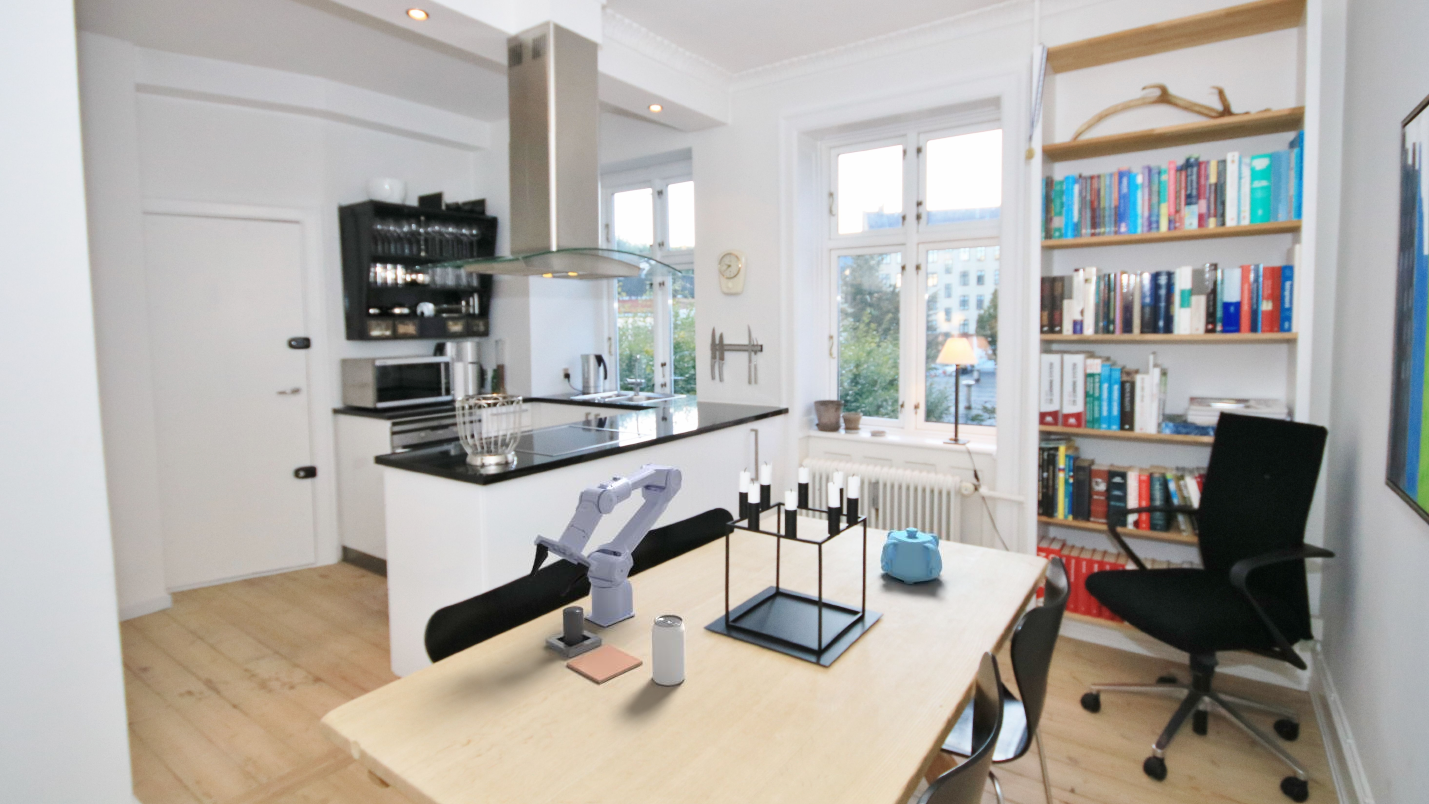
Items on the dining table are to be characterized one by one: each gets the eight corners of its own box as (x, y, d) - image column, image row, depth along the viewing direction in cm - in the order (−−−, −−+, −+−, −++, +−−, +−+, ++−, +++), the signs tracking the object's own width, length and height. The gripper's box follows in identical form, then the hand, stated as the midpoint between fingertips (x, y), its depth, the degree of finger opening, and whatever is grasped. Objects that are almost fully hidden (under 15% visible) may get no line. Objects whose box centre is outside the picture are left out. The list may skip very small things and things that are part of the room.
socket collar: (578, 632, 161) (578, 626, 161) (601, 644, 156) (601, 637, 155) (546, 645, 155) (545, 638, 155) (569, 658, 149) (569, 651, 149)
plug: (576, 638, 158) (575, 604, 158) (588, 644, 155) (587, 609, 155) (559, 645, 155) (558, 610, 154) (571, 651, 152) (570, 615, 151)
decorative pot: (873, 581, 193) (874, 532, 191) (887, 563, 207) (888, 517, 205) (935, 591, 185) (937, 540, 184) (945, 571, 200) (947, 524, 198)
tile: (609, 647, 154) (608, 644, 154) (642, 663, 147) (642, 660, 147) (566, 665, 146) (566, 662, 146) (600, 683, 139) (599, 680, 139)
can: (670, 667, 145) (670, 610, 144) (692, 678, 141) (691, 620, 139) (646, 678, 141) (645, 620, 139) (667, 690, 136) (666, 630, 135)
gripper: (548, 512, 156) (515, 565, 149) (607, 540, 155) (576, 596, 148) (549, 524, 162) (516, 576, 155) (605, 552, 161) (576, 606, 153)
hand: (546, 586), depth 151 cm, fingers open, 7 cm apart
